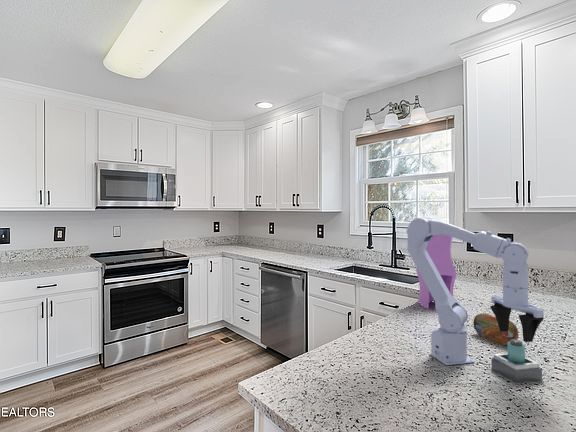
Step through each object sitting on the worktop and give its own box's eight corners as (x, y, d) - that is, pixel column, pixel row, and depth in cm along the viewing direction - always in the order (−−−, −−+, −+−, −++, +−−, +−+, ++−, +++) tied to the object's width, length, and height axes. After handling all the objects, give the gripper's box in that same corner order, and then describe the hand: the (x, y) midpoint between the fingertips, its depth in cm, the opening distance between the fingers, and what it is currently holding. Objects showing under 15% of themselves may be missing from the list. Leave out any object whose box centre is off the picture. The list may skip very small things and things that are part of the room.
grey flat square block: (516, 382, 84) (516, 366, 84) (491, 368, 92) (491, 353, 92) (542, 379, 86) (541, 364, 86) (515, 366, 94) (515, 351, 94)
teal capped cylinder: (517, 367, 87) (516, 344, 87) (503, 360, 91) (503, 339, 91) (529, 365, 88) (529, 343, 88) (515, 359, 91) (515, 337, 91)
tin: (472, 333, 120) (472, 310, 120) (479, 332, 121) (478, 309, 121) (513, 349, 106) (513, 323, 106) (520, 347, 107) (520, 322, 107)
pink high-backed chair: (444, 301, 164) (444, 232, 163) (456, 309, 150) (455, 233, 150) (416, 301, 165) (416, 232, 165) (425, 308, 151) (424, 233, 151)
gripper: (553, 291, 83) (553, 345, 83) (505, 280, 97) (505, 326, 97) (529, 293, 81) (530, 347, 81) (484, 281, 96) (485, 327, 96)
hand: (515, 336), depth 89 cm, fingers open, 7 cm apart
